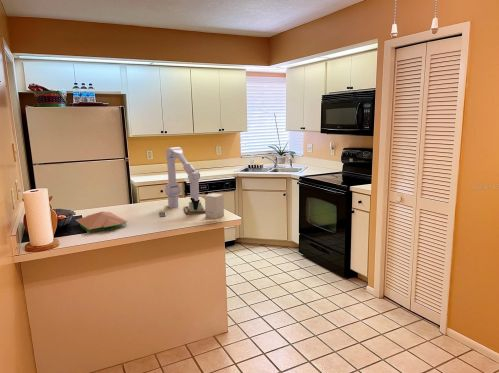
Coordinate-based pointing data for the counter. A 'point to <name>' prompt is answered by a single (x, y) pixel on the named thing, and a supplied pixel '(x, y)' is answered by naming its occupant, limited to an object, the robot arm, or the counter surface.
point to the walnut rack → (194, 211)
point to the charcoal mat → (162, 214)
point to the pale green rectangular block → (193, 207)
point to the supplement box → (214, 205)
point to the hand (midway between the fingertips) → (195, 208)
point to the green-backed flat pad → (100, 221)
